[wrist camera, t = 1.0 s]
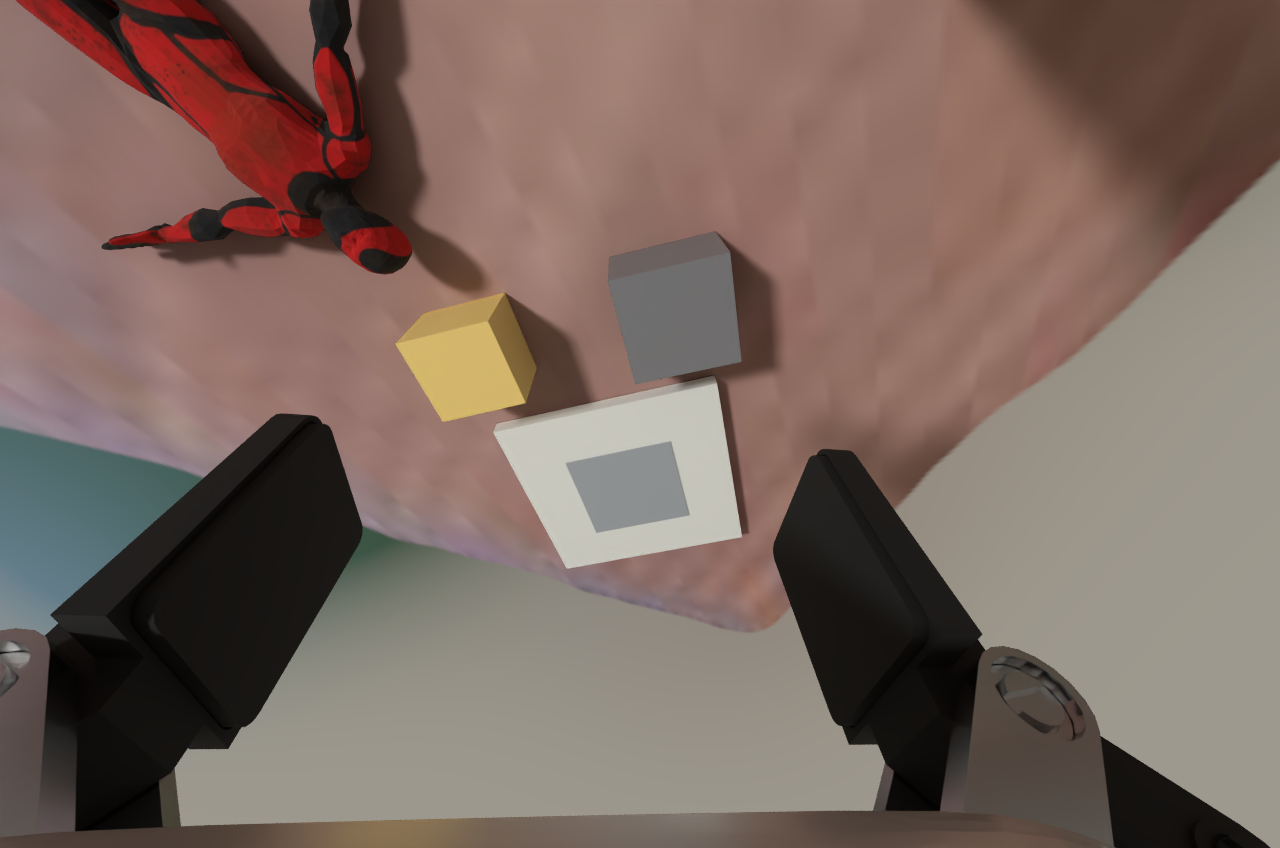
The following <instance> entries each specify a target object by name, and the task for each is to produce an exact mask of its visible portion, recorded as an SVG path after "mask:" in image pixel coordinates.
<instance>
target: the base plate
mask: <svg viewBox="0 0 1280 848" xmlns="http://www.w3.org/2000/svg"><path fill="white" fill-rule="evenodd" d="M493 433H494V435H495V436H496V438H497V440H498V442H499V444H500V446H501V448H502V449H503V451H504V453H505V455H506V457H507V459H508V461H509V462H510V464H511V466H512V468H513V470H514V472H515V473H516V475H517V477H518V479H519V481H520V483H521V485H522V486H523V488H524V490H525V492H526V494H527V496H528V498H529V499H530V501H531V503H532V505H533V507H534V509H535V510H536V512H537V514H538V516H539V518H540V520H541V522H542V523H543V525H544V527H545V529H546V531H547V533H548V535H549V536H550V538H551V540H552V542H553V544H554V546H555V548H556V549H557V551H558V553H559V555H560V557H561V559H562V560H563V562H564V564H565V566H566V568H567V569H568V568H573V567H579V566H584V565H590V564H595V563H601V562H606V561H612V560H618V559H623V558H629V557H634V556H640V555H645V554H651V553H656V552H662V551H667V550H673V549H678V548H684V547H689V546H695V545H700V544H706V543H712V542H717V541H723V540H728V539H734V538H739V537H742V534H741V528H740V522H739V515H738V509H737V503H736V497H735V491H734V485H733V479H732V472H731V466H730V460H729V454H728V448H727V442H726V436H725V429H724V423H723V417H722V411H721V405H720V399H719V393H718V386H717V382H716V379H715V376H709V377H705V378H700V379H696V380H691V381H687V382H682V383H678V384H673V385H669V386H664V387H660V388H655V389H651V390H646V391H642V392H637V393H633V394H628V395H624V396H619V397H615V398H610V399H606V400H601V401H597V402H592V403H588V404H583V405H579V406H574V407H570V408H565V409H561V410H556V411H552V412H547V413H543V414H538V415H534V416H529V417H525V418H520V419H516V420H511V421H507V422H502V423H498V424H496V427H495V430H494V432H493Z"/></svg>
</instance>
